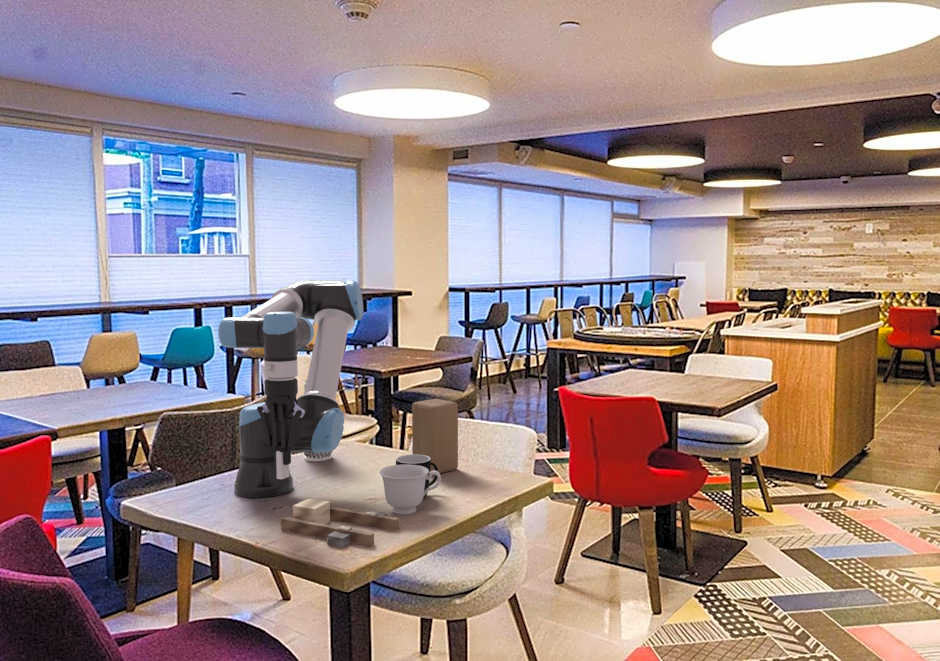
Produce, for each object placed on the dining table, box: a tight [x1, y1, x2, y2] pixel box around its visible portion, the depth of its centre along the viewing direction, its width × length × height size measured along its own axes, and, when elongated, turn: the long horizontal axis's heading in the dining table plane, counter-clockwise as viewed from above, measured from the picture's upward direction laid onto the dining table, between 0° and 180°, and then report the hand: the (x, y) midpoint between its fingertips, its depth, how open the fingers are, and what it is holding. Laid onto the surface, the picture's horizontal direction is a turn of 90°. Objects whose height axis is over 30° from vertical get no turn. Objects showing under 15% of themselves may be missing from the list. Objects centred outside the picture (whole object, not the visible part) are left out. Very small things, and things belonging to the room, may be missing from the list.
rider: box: [292, 497, 331, 524], centre depth 176 cm, size 6×6×5 cm
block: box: [411, 398, 459, 474], centre depth 221 cm, size 10×10×20 cm
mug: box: [395, 453, 438, 500], centre depth 197 cm, size 12×9×10 cm
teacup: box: [379, 464, 442, 516], centre depth 185 cm, size 12×15×10 cm
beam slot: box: [280, 505, 400, 548], centre depth 173 cm, size 24×18×3 cm
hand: (282, 477), depth 179 cm, fingers closed
